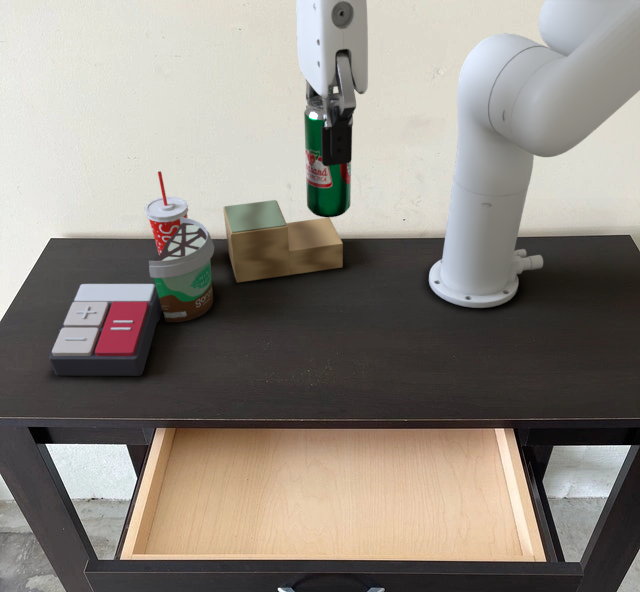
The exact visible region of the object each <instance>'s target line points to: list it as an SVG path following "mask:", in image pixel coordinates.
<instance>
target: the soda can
mask: <svg viewBox="0 0 640 592" xmlns="http://www.w3.org/2000/svg"><path fill="white" fill-rule="evenodd" d="M330 102H331V113H332V110H333V108H334V106H338V102H339V100H333V101H330ZM306 104H307V105H306V106H307V108H306V107H305V110H304V112H303V119H304V120H303V121H304V151H305V153H304V154H305V155H304V156H305V181H306V185H305V186H306V187H305V189H306V206H307V209H308V210H309V211H310V212H311V213H312V214H313V215H315V216H317V217H320V218H328V217H329V218H336V217H339V216H342V215H343V214H345V213H346V212H347V211H348V210H349V208H350V207H351V197H352V196H351V193H352V189H351V188H352V161H351V162H350V163H346V164H339V165H331V166H324V165H323V164H322V161H321V126H325V125H324V115H323V102H322V96H320V95H318V96H314V97H312V98H310V99H309V100H308V102H306Z"/></svg>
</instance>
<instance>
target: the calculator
mask: <svg viewBox="0 0 640 592" xmlns="http://www.w3.org/2000/svg"><path fill="white" fill-rule="evenodd" d="M162 313H163V310H162V306H161V303H160V299H159V296H158V293H157V289H156V286H155V283H82V284H79V285H78V287H77V289H76V292H75V293H74V296H73V299H72V302H71V304H70V306H69V308H68V310H67V312H66V315H65V317H64V321H63V322H62V325H61V327H60V330H59V331H58V334H57V337H56V339H55V341H54V344H53V346H52V348H51V350H50V353H49V355H48V359H49V362H50V364H51V367H52V369H53V371H54V373H55V375H56V376H60V377H63V376H65V377H66V376H67V377H69V376H72V377H74V376H76V377H77V376H78V377H79V376H81V377H83V376H88V377H89V376H91V377H100V376H101V377H103V376H104V377H107V376H108V377H109V376H110V377H112V376H114V377H137V376H138V377H140V376H141V375H143V373H144V370H145V366H146V363H147V360H148V356H149V352H150V350H151V345H152V341H153V337H154V334H155V331H156V327H157V324H158V322H160V319H161V315H162Z"/></svg>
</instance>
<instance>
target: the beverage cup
mask: <svg viewBox="0 0 640 592" xmlns="http://www.w3.org/2000/svg"><path fill="white" fill-rule="evenodd" d="M157 175H158V176H157V177H158V181H159V187H160V191H161V197H157V198H155V199H152V200H150V201H148V202H147V203H146V204H145V206H144V212H145V215H146V218H147V219H148V220H149V224H150V227H151V231H152V234H153V238H154V242H155V245H156V249H157V252H158V256H159V255H160V254H161V252H162V250H163V248H164V246H165V244H166V242H167V241H168V240H169V239H170V238H171V237H172V236H173V235H174V234H175V233H176V231H177V230H178V228H179V226H180V225H181V223H180V217H183V218H188V219H189V217H188V212H189V204H188V202H187V201H186V200H185V199H184V198H182V197H178V196H167V194H166V190H165V189H166V188H165V184H164V180H163V175H162V171H158V172H157Z"/></svg>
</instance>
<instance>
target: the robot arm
mask: <svg viewBox="0 0 640 592" xmlns="http://www.w3.org/2000/svg"><path fill="white" fill-rule="evenodd" d="M367 3H368V2H367V0H295V11H296V12H295V19H296V20H295V21H296V22H295V23H296V25H295V27H296V51H297V62H298V67H299V70H300V72H301V74H302V76H303V77H304V79H305V82H306V85H305V101H306V103H307V102H308V100H309V99H310V98H312V97H314V96H318V95H320V96H322V102H323V115H324V125H325V126H321V161H322V164H323V165H324V166H331V165H339V164H346V163H350V162H351V163H352V160H353V159H352V157H353V156H352V154H353V126H354V116H353V115H354V113H355V110H356V108H357V99H356V94H355V93H356V92H357V94H358V95H364V94H365V93H366V92H367V90H368V87H369V32H368V31H369V28H368V27H369V26H368V24H369V23H368V4H367ZM537 25H538V26H537V27H538V31H539V35H540V37H541V39H542V41H543V42H544V44H545V45H544V44H541V43H540V42H537V41H535V40H532V39H530V38H528V37H525V36H522V35H520V34H515V33H508V32H507V33H506V32H503V33H496V34H493V35H492V34H491V35H490V36H488V37H485V38H484V39H482V40H480V41H479V42H478V43H477V44H476V45H475V46H474V47H473V48H472V49H471V51H469V53H468V55H466V57H465V59H464V62H463V63H462V66H461V68H460V71H459V75H458V81H457V88H456V108H457V109H456V110H457V112H456V113H457V145H456V155H455V163H454V170H453V175H452V176H453V177H452V184H451V191H450V199H449V206H448V212H447V219H446V220H447V221H446V228H445V236H444V243H443V249H442V250H443V251H442V258H441V259H439V260H438V261H436V262H435V263H434V264H433V265H432V266H431V268H430V270H429V274H428V282H429V286H430V288H431V290H432V291H433V292H434V293H435V295H437V296H438V297H439V298H441V299H443V300H445V301H446V302H448V303H451V304H453V305H456V306H459V307H460V306H461V307H464V308H472V309H484V308H485V309H486V308H492V307H493V308H494V307H496V306H500V305H503V304H505V303H507V302H508V301H510V300H511V299H513V297H515V295H516V294H517V292H518V287H519V277H518V275H521V274H522V273H523V271H533V270H539V269H542V268H543V266H544V258H543V256H542V255H541V254H535V255H529V256H527V250H526V249H525V248H521V249H516V245H517V240H518V235H519V232H520V226H521V222H522V217H523V212H524V209H525V203H526V199H527V195H528V191H529V186H530V184H531V183H530V182H531V178H532V174H533V168H534V157H535V156H536V157H540V158H553V157H557V156H560V155H562V154H565V153H567V152H569V151H571V150H572V149H573V148H575V147H577V146H579V144H580V143H582V142H583V141H584V140H585V139H586V138H588V137H589V136H590V135H591V134H592V133H593V132H595V131H596V130H597V129H598V128H599V127H600V126H602V125H603V123H605V122H606V121H607V120H608V119H609V118H611V116H613V115H614V114H615V113H616V112H618V110H620V109H621V108H622V107H623V106H624V105H625V104H627V102H629V101H630V100H631V99H632V98H633V97H634V96H636V95H637V94H638V93H639V92H640V0H544V2H543V4H542V6H541V8H540V11H539V15H538V22H537ZM335 88H337V92H334V89H335ZM333 100H339V102H338V106H334V108H333V110H332V113H331V102H330V101H333ZM307 106H308V105H305V109H306V108H307Z"/></svg>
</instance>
